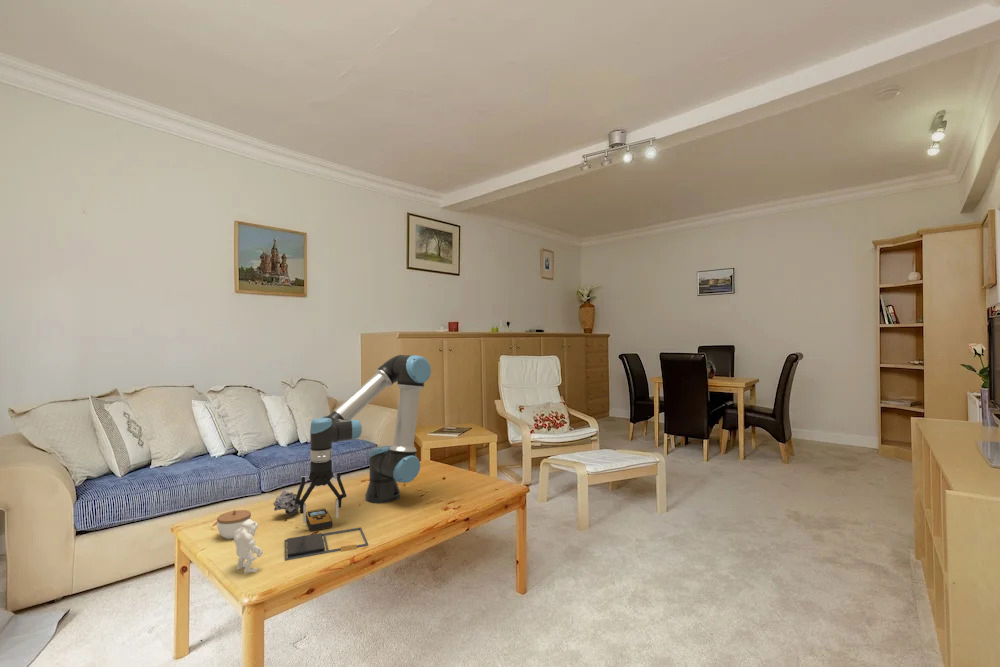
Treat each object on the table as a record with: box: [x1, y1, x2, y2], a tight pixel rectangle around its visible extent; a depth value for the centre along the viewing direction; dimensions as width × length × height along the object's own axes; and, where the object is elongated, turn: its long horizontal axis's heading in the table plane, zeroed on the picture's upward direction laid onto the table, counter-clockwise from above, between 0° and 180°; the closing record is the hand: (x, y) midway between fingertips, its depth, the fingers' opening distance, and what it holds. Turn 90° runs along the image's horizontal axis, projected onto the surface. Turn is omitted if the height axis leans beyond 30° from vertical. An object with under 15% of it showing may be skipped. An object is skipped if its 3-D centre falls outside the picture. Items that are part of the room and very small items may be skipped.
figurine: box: [233, 519, 263, 574], centre depth 147 cm, size 11×7×15 cm, turn 56°
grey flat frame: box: [284, 527, 369, 562], centre depth 165 cm, size 17×26×2 cm, turn 115°
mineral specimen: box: [273, 490, 301, 516], centre depth 192 cm, size 12×9×10 cm
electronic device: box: [306, 508, 333, 532], centre depth 184 cm, size 8×16×3 cm, turn 28°
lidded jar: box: [216, 509, 252, 540], centre depth 173 cm, size 11×11×9 cm
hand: (320, 519), depth 178 cm, fingers open, 11 cm apart
